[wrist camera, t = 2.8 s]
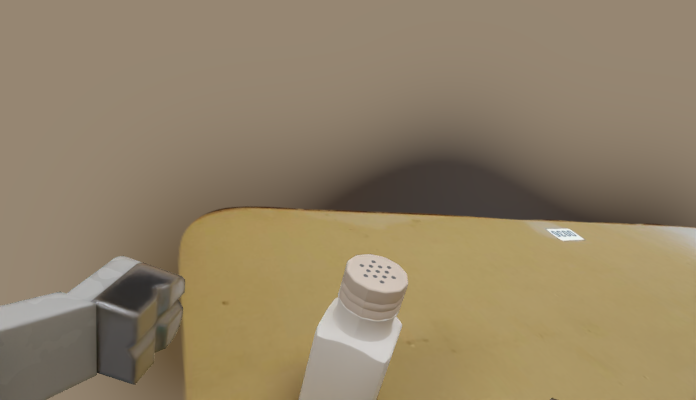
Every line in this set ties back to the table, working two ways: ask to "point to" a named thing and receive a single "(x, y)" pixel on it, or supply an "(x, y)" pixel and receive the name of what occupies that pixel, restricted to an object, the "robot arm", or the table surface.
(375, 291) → the pepper shaker
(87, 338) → the robot arm
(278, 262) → the table surface
